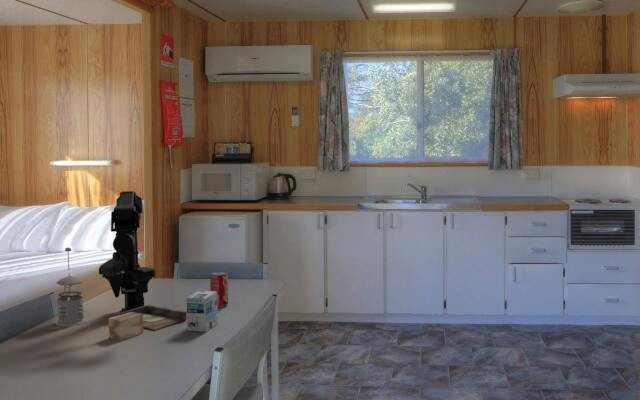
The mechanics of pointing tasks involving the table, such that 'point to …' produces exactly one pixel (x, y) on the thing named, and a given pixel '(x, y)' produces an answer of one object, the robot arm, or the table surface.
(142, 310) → the tray
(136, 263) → the robot arm
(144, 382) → the table surface
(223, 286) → the soda can
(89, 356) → the table surface
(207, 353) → the table surface
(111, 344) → the table surface
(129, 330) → the maple block
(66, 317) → the french press
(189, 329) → the light bulb box
